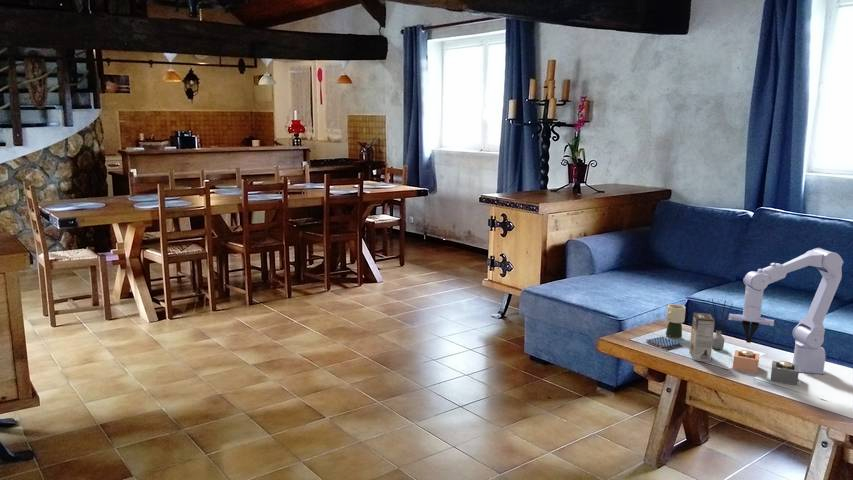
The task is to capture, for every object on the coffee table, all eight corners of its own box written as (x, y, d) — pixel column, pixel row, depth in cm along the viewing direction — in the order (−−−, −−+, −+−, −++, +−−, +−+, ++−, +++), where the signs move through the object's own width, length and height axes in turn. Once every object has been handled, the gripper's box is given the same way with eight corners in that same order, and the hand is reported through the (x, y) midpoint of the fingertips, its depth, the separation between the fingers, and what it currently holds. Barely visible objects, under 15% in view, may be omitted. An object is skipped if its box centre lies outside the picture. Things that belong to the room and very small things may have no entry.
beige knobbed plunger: (791, 377, 232) (793, 362, 231) (791, 381, 228) (793, 366, 227) (776, 374, 234) (777, 359, 233) (775, 378, 230) (777, 363, 229)
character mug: (674, 332, 282) (676, 302, 280) (689, 337, 276) (692, 306, 274) (658, 336, 276) (661, 305, 273) (673, 341, 270) (676, 310, 268)
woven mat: (661, 340, 272) (661, 335, 272) (683, 347, 264) (683, 342, 263) (643, 344, 267) (644, 339, 267) (665, 351, 258) (666, 346, 258)
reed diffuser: (731, 350, 260) (736, 301, 257) (721, 354, 256) (727, 303, 253) (706, 343, 268) (711, 295, 265) (697, 346, 264) (702, 297, 261)
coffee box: (688, 352, 257) (692, 312, 254) (706, 354, 256) (710, 313, 253) (692, 360, 248) (697, 318, 245) (711, 362, 247) (715, 320, 244)
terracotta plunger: (753, 365, 243) (754, 351, 242) (752, 369, 238) (754, 355, 237) (738, 363, 245) (740, 348, 244) (737, 367, 241) (739, 352, 240)
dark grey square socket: (796, 378, 233) (798, 365, 232) (797, 385, 226) (798, 372, 225) (770, 373, 237) (772, 360, 236) (770, 380, 230) (772, 367, 229)
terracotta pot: (757, 366, 243) (759, 354, 243) (757, 373, 236) (758, 360, 236) (733, 362, 247) (735, 350, 246) (732, 368, 240) (734, 356, 239)
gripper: (775, 305, 238) (771, 342, 240) (731, 300, 245) (727, 335, 247) (775, 310, 232) (770, 347, 234) (729, 304, 238) (725, 340, 241)
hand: (748, 342), depth 240 cm, fingers closed
